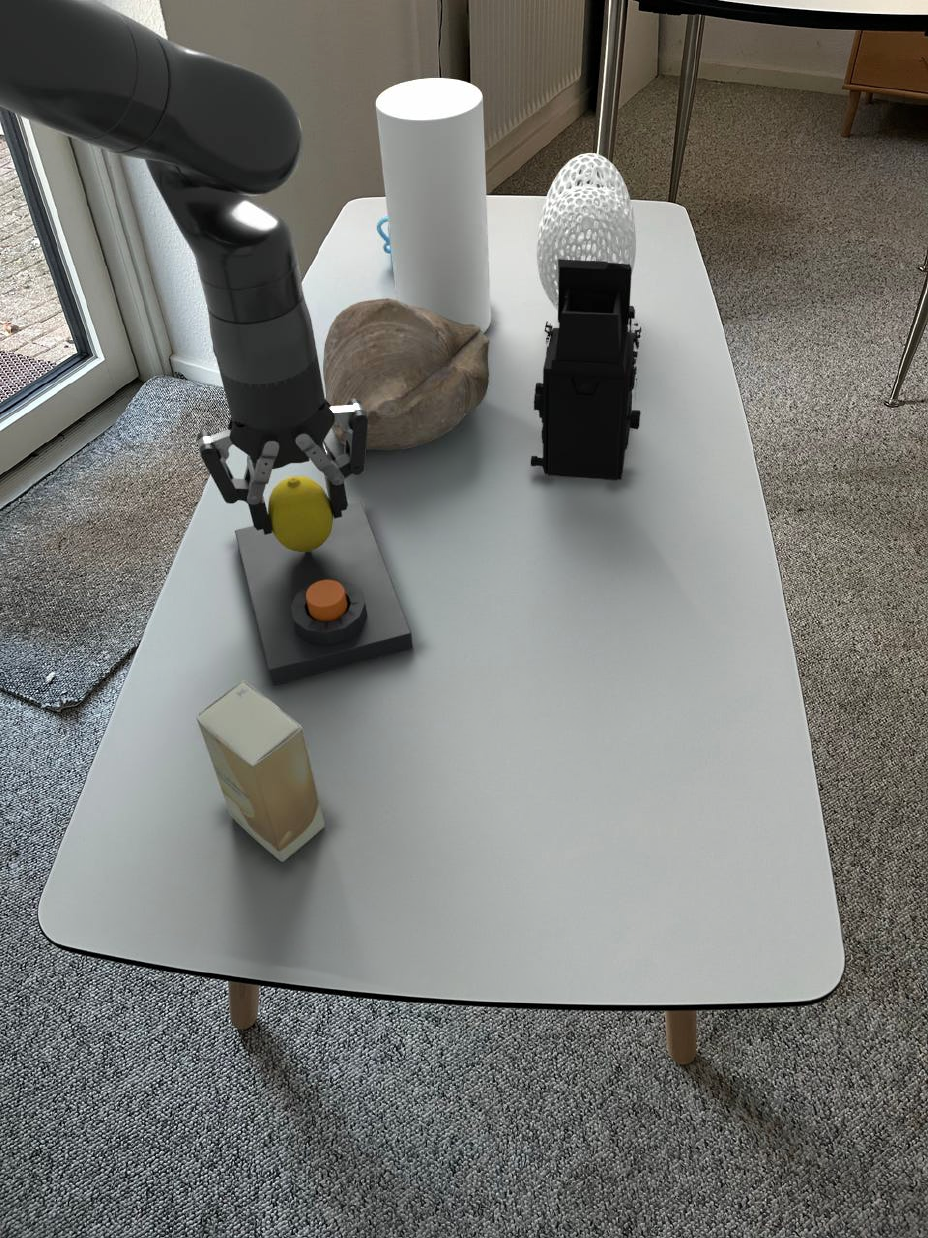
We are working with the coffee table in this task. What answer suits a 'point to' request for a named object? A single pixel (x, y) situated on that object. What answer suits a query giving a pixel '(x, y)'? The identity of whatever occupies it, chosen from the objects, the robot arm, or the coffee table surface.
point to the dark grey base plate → (283, 608)
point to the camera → (589, 373)
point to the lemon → (300, 514)
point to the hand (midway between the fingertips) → (301, 519)
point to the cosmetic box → (262, 769)
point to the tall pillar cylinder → (437, 196)
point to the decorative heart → (585, 219)
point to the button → (326, 600)
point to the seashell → (404, 371)
